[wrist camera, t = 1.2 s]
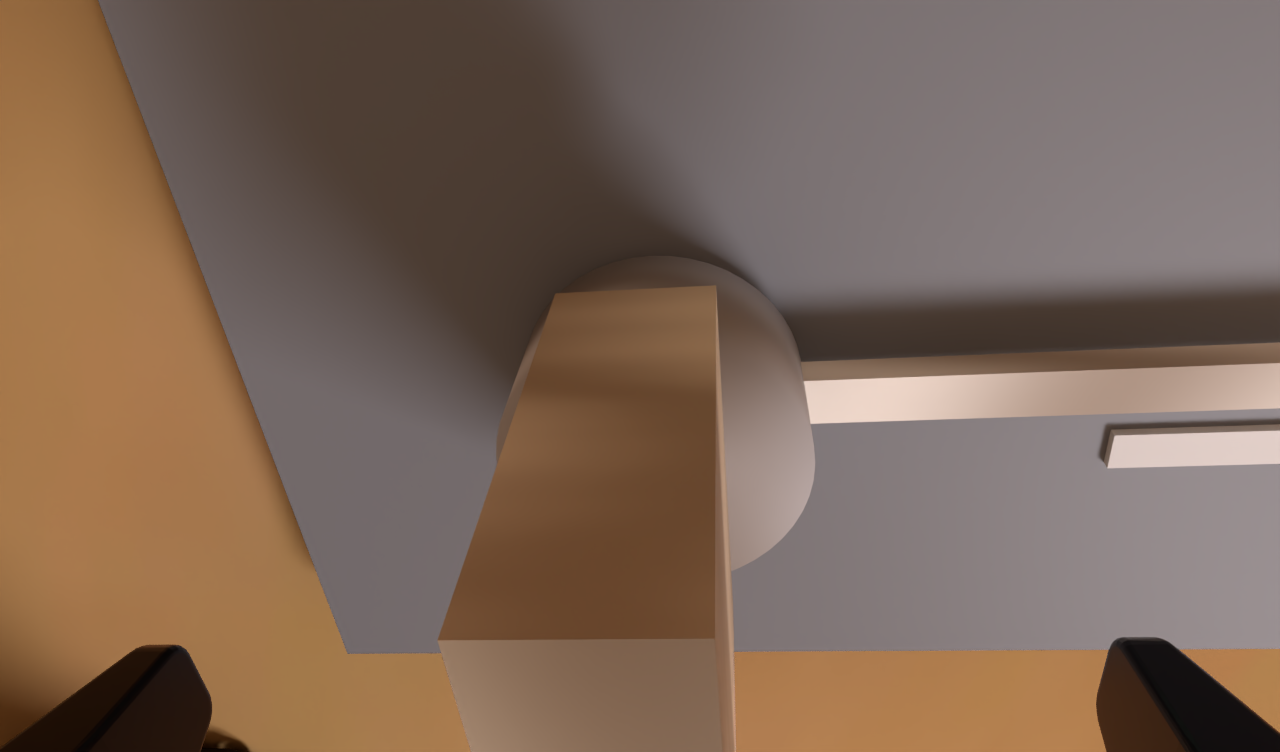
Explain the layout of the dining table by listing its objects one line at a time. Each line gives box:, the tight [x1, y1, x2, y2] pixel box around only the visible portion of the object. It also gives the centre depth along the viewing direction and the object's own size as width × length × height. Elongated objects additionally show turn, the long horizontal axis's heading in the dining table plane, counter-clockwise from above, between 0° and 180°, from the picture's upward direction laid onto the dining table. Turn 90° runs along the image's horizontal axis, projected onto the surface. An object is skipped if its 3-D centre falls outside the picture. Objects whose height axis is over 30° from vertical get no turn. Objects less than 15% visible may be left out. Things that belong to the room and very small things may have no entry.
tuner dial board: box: [98, 0, 1280, 654], centre depth 12 cm, size 17×19×2 cm
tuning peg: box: [437, 256, 1280, 752], centre depth 10 cm, size 12×5×7 cm, turn 95°
